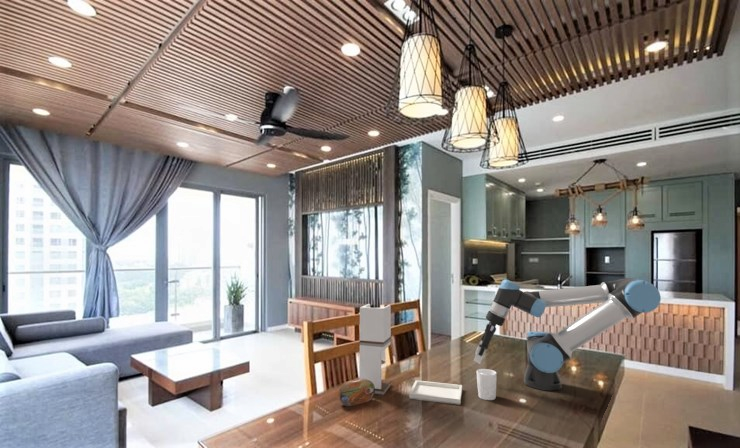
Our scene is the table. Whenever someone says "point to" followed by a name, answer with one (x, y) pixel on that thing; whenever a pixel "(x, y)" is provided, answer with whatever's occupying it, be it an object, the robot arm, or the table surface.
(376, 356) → the white tall box
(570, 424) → the table surface
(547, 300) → the robot arm
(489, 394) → the white cup
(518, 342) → the table surface
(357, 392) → the tin
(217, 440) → the table surface
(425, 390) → the tray
